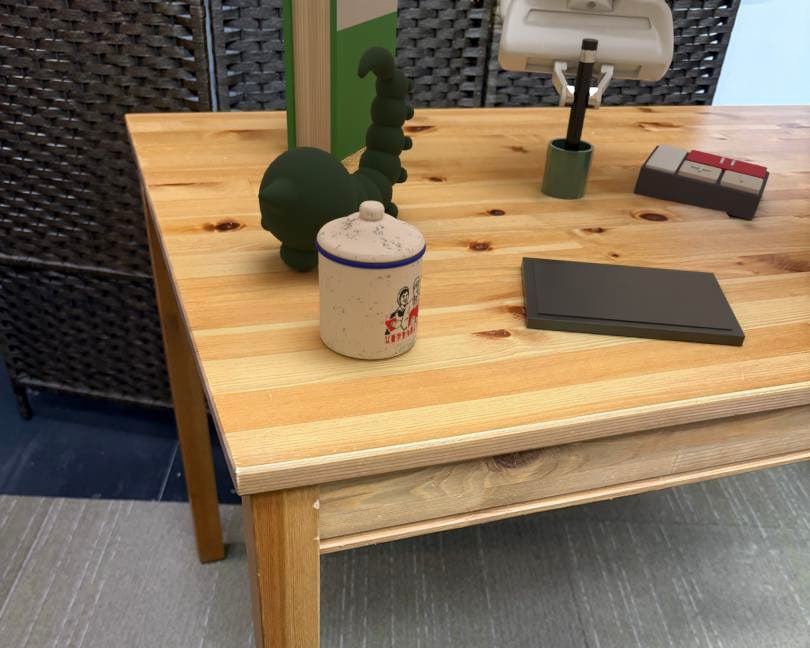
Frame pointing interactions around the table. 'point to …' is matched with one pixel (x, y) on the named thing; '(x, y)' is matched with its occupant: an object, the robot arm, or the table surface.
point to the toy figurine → (338, 171)
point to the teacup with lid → (369, 283)
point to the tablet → (627, 301)
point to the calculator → (702, 180)
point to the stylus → (581, 93)
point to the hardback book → (332, 70)
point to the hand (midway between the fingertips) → (579, 105)
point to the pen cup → (566, 170)
